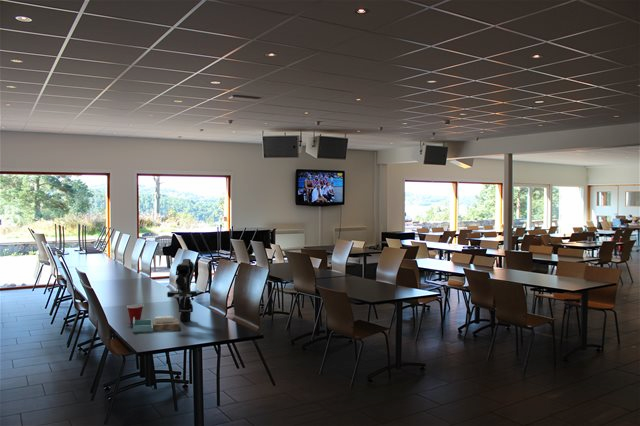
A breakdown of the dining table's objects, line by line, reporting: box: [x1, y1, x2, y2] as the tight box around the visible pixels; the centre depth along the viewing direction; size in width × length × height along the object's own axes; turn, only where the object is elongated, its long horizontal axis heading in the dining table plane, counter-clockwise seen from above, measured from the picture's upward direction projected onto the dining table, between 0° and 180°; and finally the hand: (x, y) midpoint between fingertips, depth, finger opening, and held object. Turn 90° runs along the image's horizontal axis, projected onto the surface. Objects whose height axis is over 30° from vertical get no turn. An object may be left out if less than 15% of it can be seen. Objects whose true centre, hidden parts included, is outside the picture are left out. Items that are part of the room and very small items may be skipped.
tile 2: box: [163, 315, 174, 323], centre depth 344 cm, size 5×5×3 cm
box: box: [132, 317, 154, 334], centre depth 339 cm, size 12×18×6 cm, turn 19°
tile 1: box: [154, 315, 164, 323], centre depth 342 cm, size 5×5×3 cm
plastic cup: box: [126, 303, 145, 325], centre depth 355 cm, size 11×11×12 cm
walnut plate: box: [151, 317, 180, 332], centre depth 344 cm, size 16×16×4 cm
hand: (181, 307), depth 347 cm, fingers open, 3 cm apart
